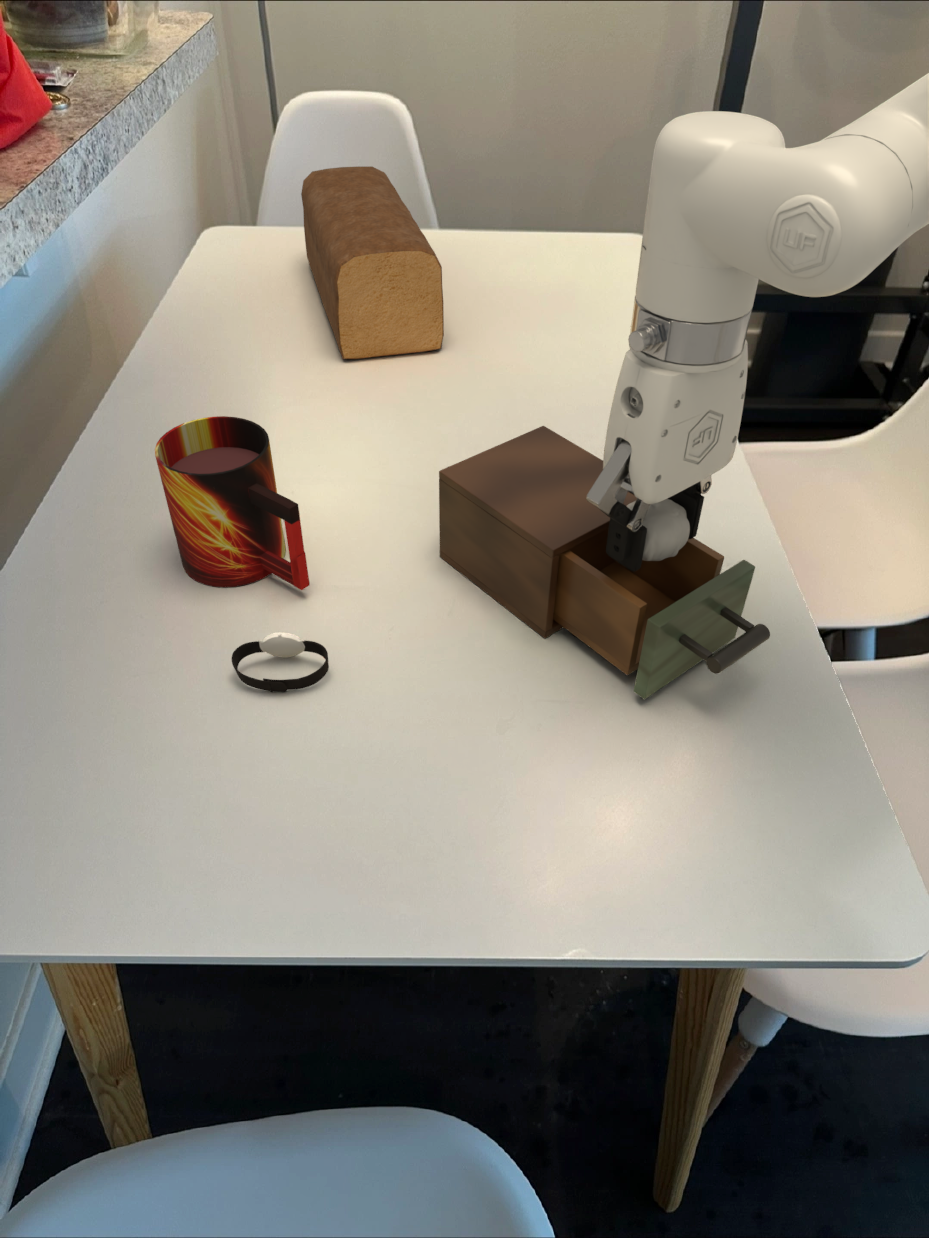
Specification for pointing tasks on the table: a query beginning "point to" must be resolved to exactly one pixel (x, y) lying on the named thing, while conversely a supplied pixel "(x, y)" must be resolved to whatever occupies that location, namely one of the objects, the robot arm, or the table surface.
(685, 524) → the garlic
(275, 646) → the watch
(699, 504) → the robot arm
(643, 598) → the drawer
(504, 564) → the cabinet
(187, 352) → the table surface
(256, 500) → the mug
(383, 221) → the bread
